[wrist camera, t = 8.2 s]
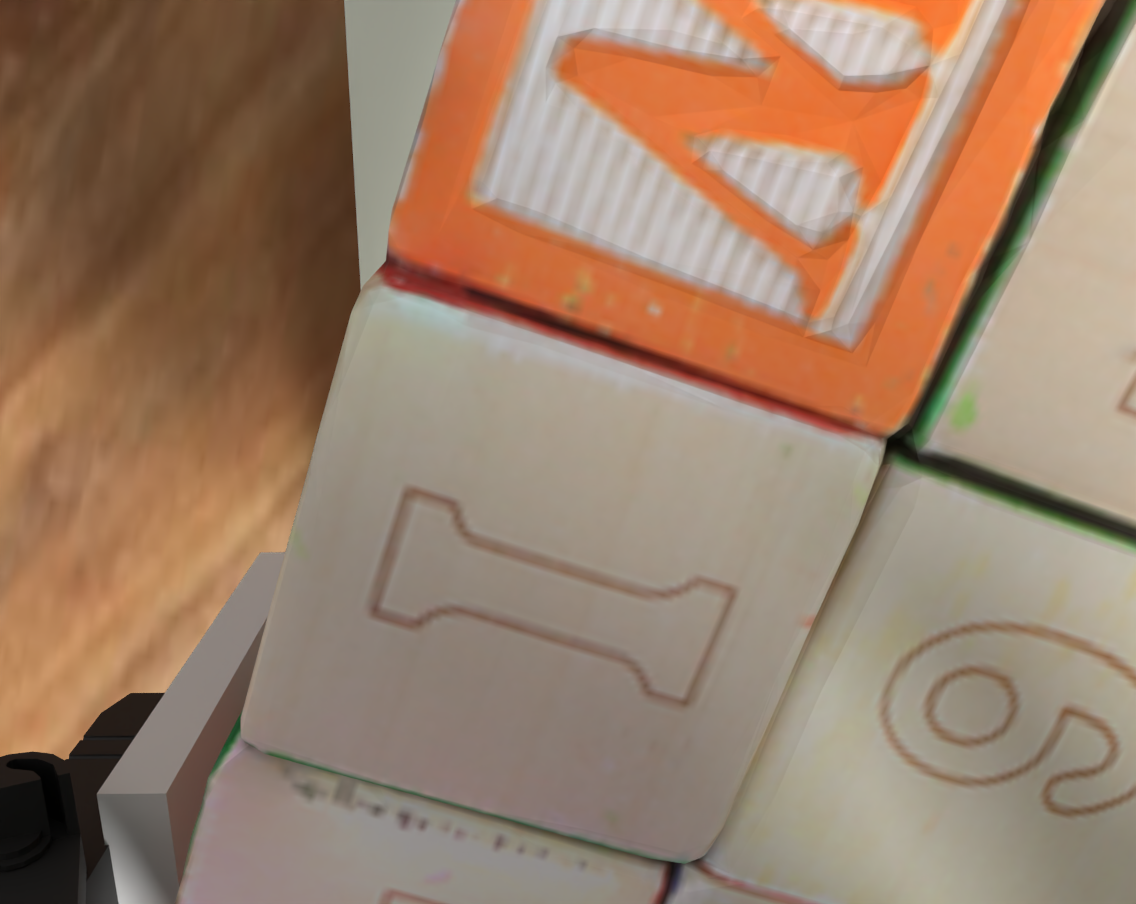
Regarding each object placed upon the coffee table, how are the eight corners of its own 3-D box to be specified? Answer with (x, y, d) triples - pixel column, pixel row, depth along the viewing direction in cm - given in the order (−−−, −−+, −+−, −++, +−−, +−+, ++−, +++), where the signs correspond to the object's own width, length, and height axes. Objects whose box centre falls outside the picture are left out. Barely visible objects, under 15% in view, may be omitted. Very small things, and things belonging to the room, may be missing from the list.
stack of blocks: (491, 1044, 23) (427, 2025, 11) (225, 972, 22) (-154, 1942, 10) (905, 126, 17) (1769, 98, 5) (558, -17, 16) (580, -464, 4)
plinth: (706, -12, 28) (738, -42, 23) (671, 738, 35) (691, 832, 30) (370, -15, 27) (332, -47, 23) (407, 739, 35) (385, 834, 30)
